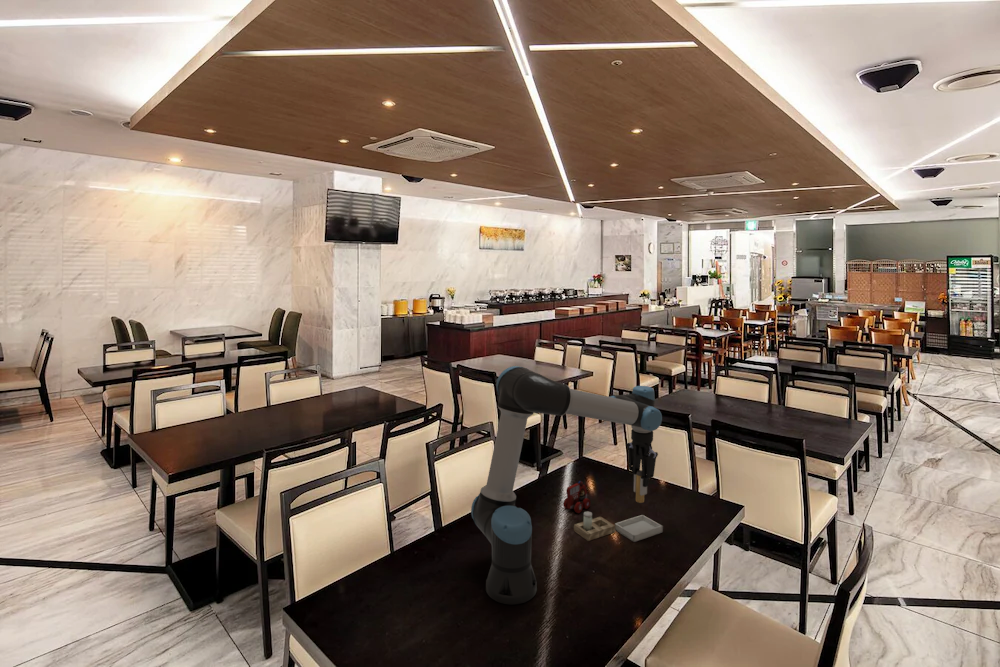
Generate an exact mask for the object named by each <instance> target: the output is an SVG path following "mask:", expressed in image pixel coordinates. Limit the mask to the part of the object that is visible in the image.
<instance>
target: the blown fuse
mask: <svg viewBox="0 0 1000 667" xmlns="http://www.w3.org/2000/svg"><path fill="white" fill-rule="evenodd" d="M640 477H642V469H640V470H638V471H637V479H636V492H635V502H637V503H639V504H643V503H645V495H642V496H641V495H640Z"/></svg>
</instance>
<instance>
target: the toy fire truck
mask: <svg viewBox="0 0 1000 667" xmlns="http://www.w3.org/2000/svg"><path fill="white" fill-rule="evenodd" d="M566 495H567V496H566V498H565V499H564V501H563V507H564V509H567V510H572V509H573V510H574V512H575V513H577V514H581V512H583V509H585V510H588V509H589V508H590V507H591V499H590V498H588V491H587V488H586V484H584V482H583V481H582V480H579V481H578V482H576V483H573V484H572V485H570V486H568V487H567V488H566Z"/></svg>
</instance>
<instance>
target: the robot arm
mask: <svg viewBox="0 0 1000 667" xmlns="http://www.w3.org/2000/svg"><path fill="white" fill-rule="evenodd" d="M495 386H496V391H497V393H498V395H499V397H498V402H497V408H498V409H499V411H500V416H499V420H498V426H497V432H496V437H495V442H494V446H493V450H492V457H491V460H490V466H489V471H488V476H487V480H486V485H483V487H480V491H479V494H478V495H477V496H475V498H474V499H473V501H472V504H471V506H470V508H471V510H470V511H471V512H470V513H471V519H473V522H474V524H475V526H476V527H477V528H478V529H479V530H480V532H482V534H483V535H484V537H486V540H488V542H489V543H490V544H491V565H490V569H489V571H488V573H487V574H488V575H487V577H486V579H485V591H486V594H487V595H488V597H489V598H490V599H492V600H493V601H495V602H498V603H500V604H504V605H510V606H511V605H521V604H523V603H526V602H529V601H531V600H532V599H533V598H534V597H535V595H537V594H536V593H537V591H538V588H537V586H538V585H537V583H538V582H537V579H536V574H535V572H534V569H533V566H532V534H533V526H532V519H531V516H530V514H529V513H528V512H527V511H526V510H525V509H523V508H521V507H517V506H516V501H517V495H516V493H515V492H514V486H515V480H516V475H517V471H518V467H519V461H520V458H521V452H522V448H523V442H524V438H525V432H526V429H527V423H528V419H529V418H530V417H531V416H533V415H534V413H537V414H543V415H552V416H556V417H557V416H558V417H562V416H564V415H572V416H579V417H584V418H589V419H594V420H600V421H607V422H612V423H617V424H622V425H627V426H628V425H629V426H631V427H630V429H631V430H630V431H631V433H630V434H631V435H630V437H631V438H630V439H631V442H627V443H626V444H625V446H626V448H627V461H628V464H627V465H628V470H629V471H631V472H632V482H633V492H634V493H636V479H637V471H638V470H642V477H640V495H641V496H642V495H644V496H645V495H647V494H648V487H649V482H650V481H649V479H651V478H654V476H655V468H656V462H657V461H656V460H657V457H658V456H659V453H658V452H657V451H655V450H653V446H652V443H653V441H654V431H656V430H658V429H659V427H660V426H661V425H662V422H663V415H662V412H661V411H660V410H659V409H658V408H656V407H655V403H656V400H655V390H654V388H653V387H651V386H648V385H647V386H646V385H636V386H634V387H633V388H632V391H631V393H627V394H620V395H619V394H618V395H611V396H606V395H601V394H596V393H593V392H588V391H582V390H578V389H573V388H570V386H569V385H567V384H565V383H561V382H558V381H555V380H552V379H551V378H548V377H546V376H544V375H542V374H540V373H537V372H535V371H533V370H530V369H528V368H526V367H523V366H518V365H517V366H516V365H515V366H514V365H513V366H510V367H506V369H504V370H503V371H502V372H501V373H500V374H499V375H498V378H497V379H496V385H495Z"/></svg>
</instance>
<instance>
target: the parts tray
mask: <svg viewBox="0 0 1000 667" xmlns="http://www.w3.org/2000/svg"><path fill="white" fill-rule="evenodd" d="M614 525H615V532H617V533H619V534H620V535H622V536H624V537H625V538H627V539H628V540H630V541H631V542H633V543H636V542H638V541H641V540H644V539H647V538H650V537H653V536H657V535H659V534H661V533H663V531H664V525H662V524H660V523H658V522H656V521H654V520H653V519H651V518H649V517H647V516H645V515H644V514H641V515H638V516H634V517H631V518H628V519H625V520H622V521H618V522H616V523H614Z"/></svg>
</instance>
